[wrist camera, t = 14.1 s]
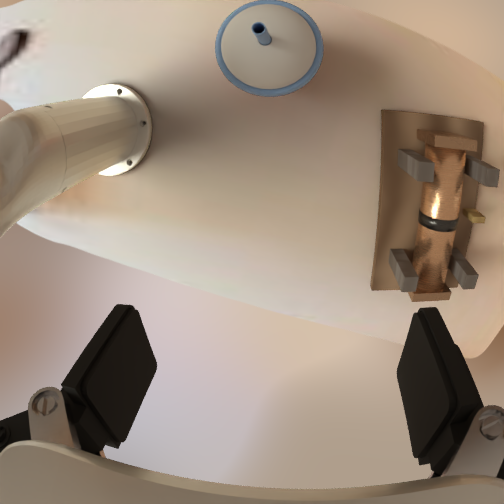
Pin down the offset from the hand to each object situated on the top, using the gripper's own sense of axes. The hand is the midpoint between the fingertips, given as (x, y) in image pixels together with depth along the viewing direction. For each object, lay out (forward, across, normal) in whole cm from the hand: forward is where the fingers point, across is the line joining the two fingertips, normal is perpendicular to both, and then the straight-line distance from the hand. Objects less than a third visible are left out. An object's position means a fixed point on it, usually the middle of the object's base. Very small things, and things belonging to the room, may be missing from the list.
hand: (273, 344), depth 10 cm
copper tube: (+29, -18, +6) cm, 35 cm away
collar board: (+30, -18, +6) cm, 36 cm away
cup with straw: (+31, +1, -12) cm, 33 cm away
